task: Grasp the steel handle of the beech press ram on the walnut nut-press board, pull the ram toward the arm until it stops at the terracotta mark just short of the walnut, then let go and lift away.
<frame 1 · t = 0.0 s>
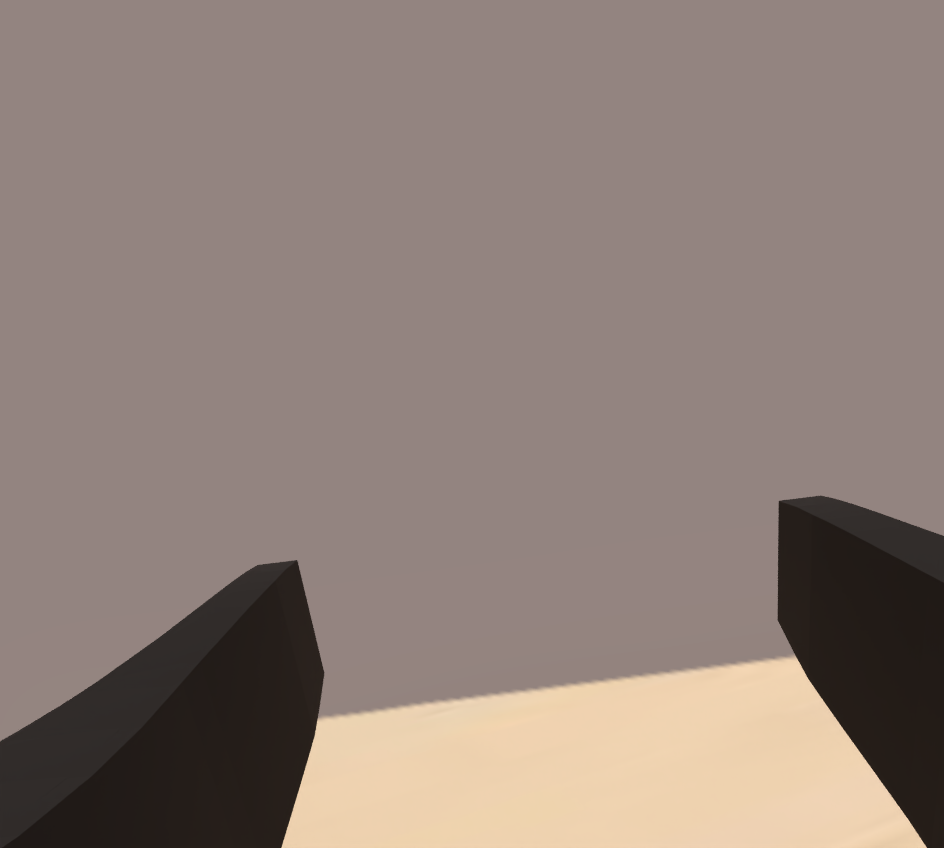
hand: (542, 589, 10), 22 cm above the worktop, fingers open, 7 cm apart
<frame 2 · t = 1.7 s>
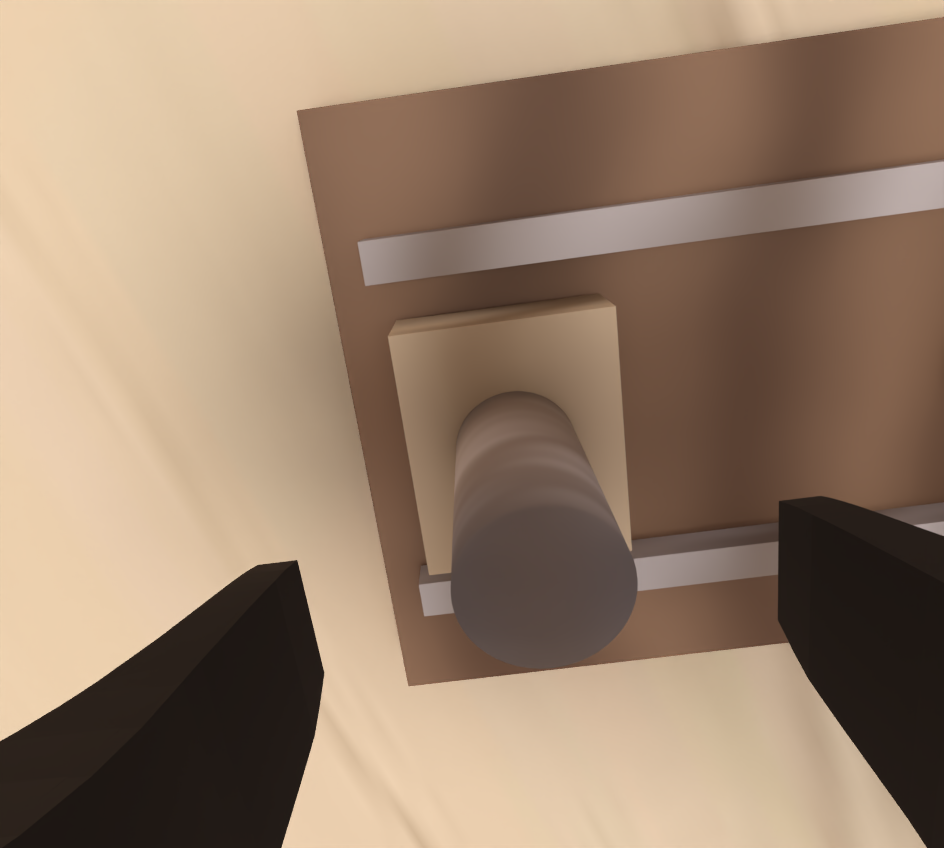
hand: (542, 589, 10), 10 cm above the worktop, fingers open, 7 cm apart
press ram: (523, 483, 14), point 6 cm above the worktop, slide at 0.0 cm
press board: (755, 370, 19), on the worktop
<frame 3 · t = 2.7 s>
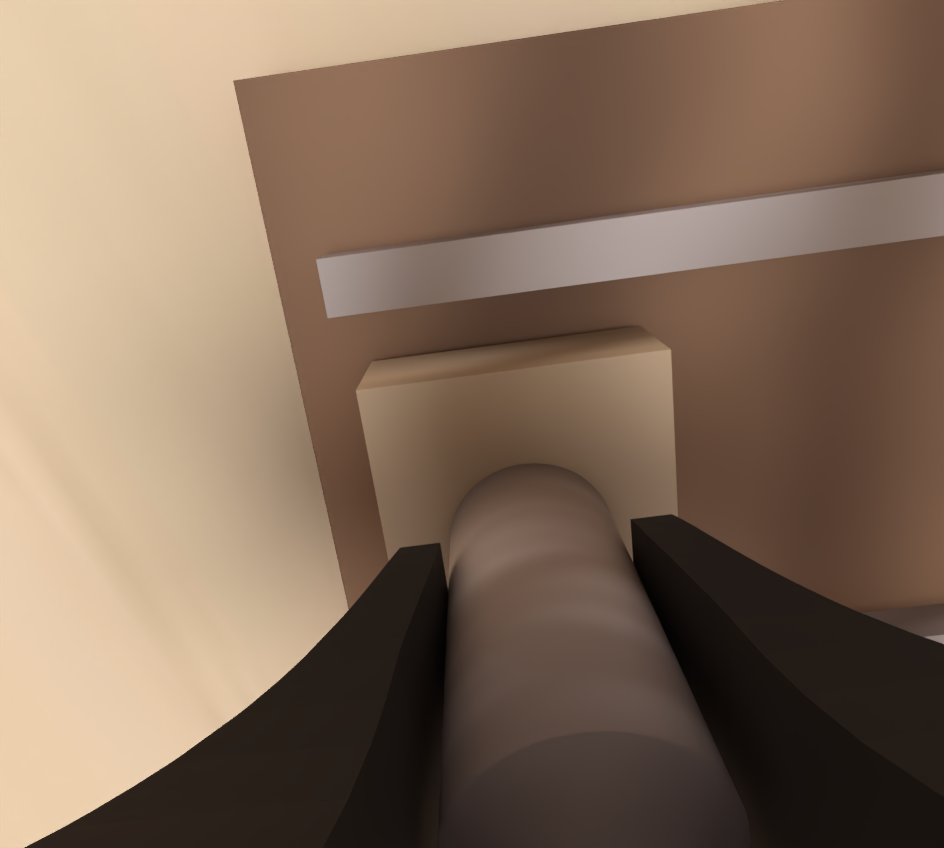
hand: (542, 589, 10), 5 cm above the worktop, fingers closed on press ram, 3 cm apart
press ram: (544, 605, 10), point 6 cm above the worktop, slide at 0.0 cm, touching gripper
press board: (832, 418, 15), on the worktop
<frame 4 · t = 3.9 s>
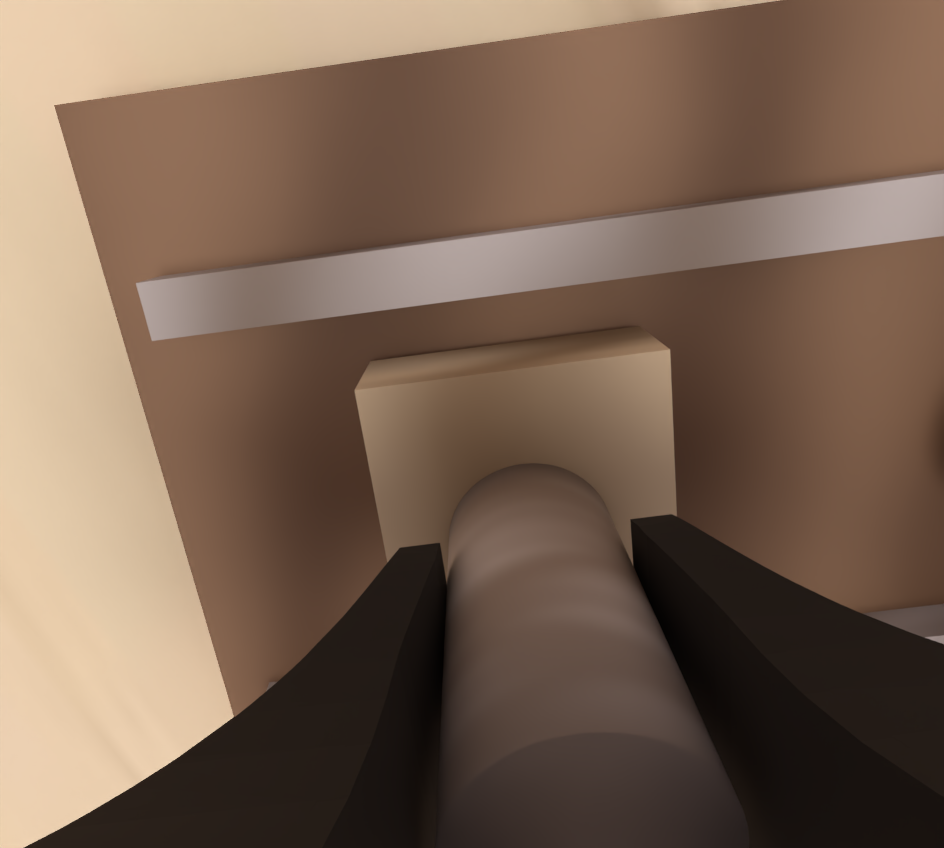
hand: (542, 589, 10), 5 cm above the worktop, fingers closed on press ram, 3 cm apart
press ram: (543, 605, 10), point 6 cm above the worktop, slide at 3.1 cm, touching gripper
press board: (692, 436, 15), on the worktop
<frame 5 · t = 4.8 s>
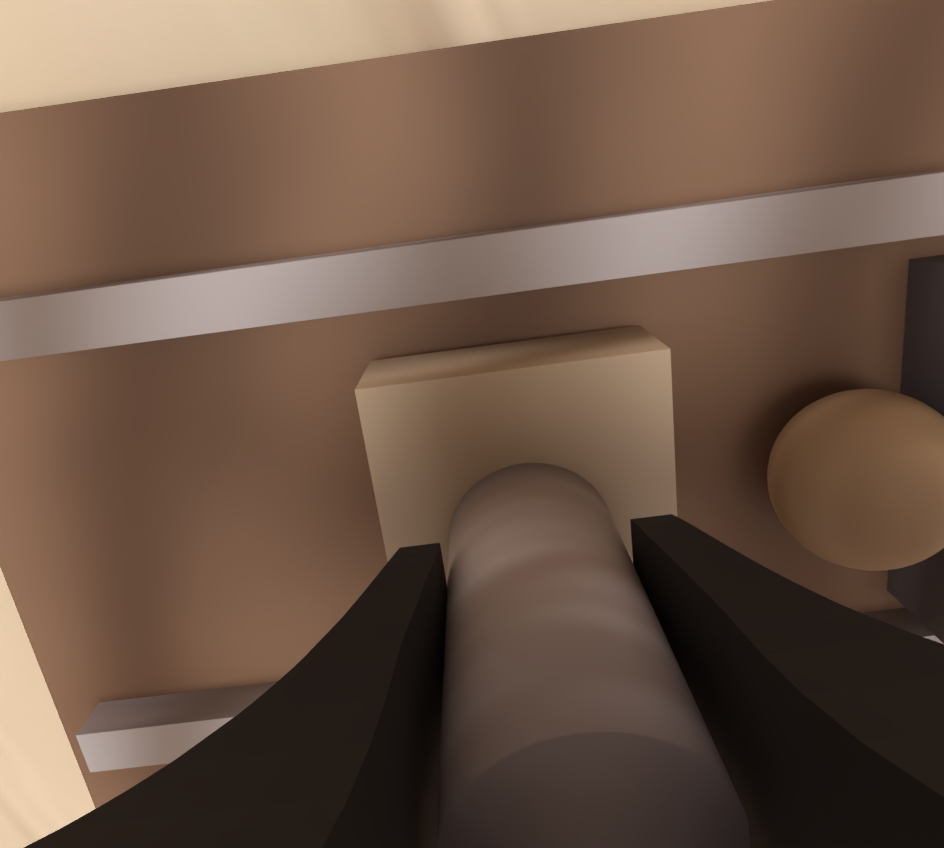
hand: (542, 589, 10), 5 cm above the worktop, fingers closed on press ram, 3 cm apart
press ram: (543, 605, 10), point 6 cm above the worktop, slide at 7.0 cm, touching gripper
press board: (516, 457, 15), on the worktop
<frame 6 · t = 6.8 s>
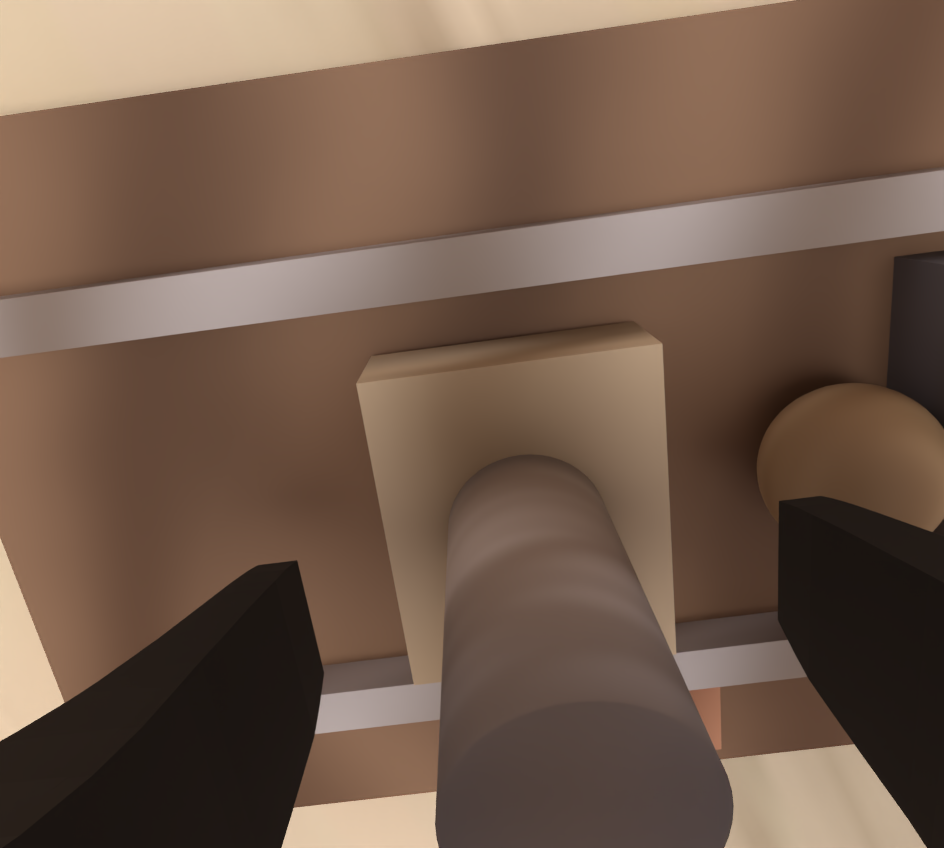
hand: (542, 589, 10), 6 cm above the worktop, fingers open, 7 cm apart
press ram: (539, 590, 10), point 6 cm above the worktop, slide at 7.0 cm
press board: (513, 451, 16), on the worktop
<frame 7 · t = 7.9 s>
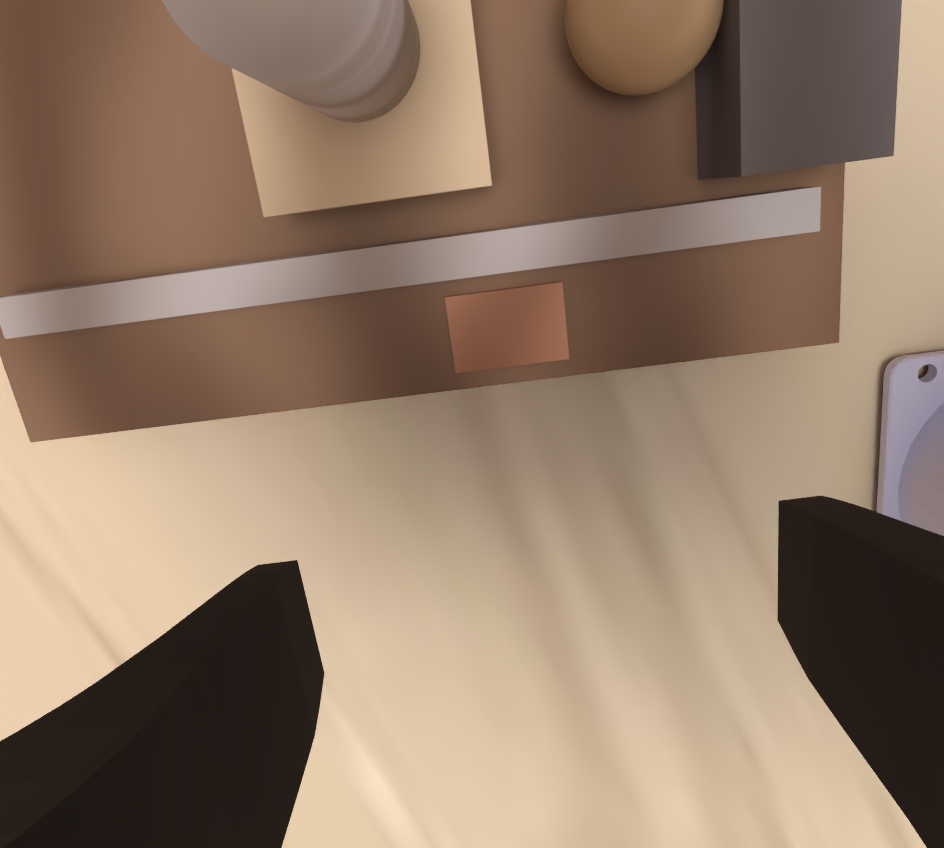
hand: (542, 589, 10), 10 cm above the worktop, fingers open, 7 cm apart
press ram: (330, 24, 12), point 6 cm above the worktop, slide at 7.0 cm
press board: (378, 76, 18), on the worktop
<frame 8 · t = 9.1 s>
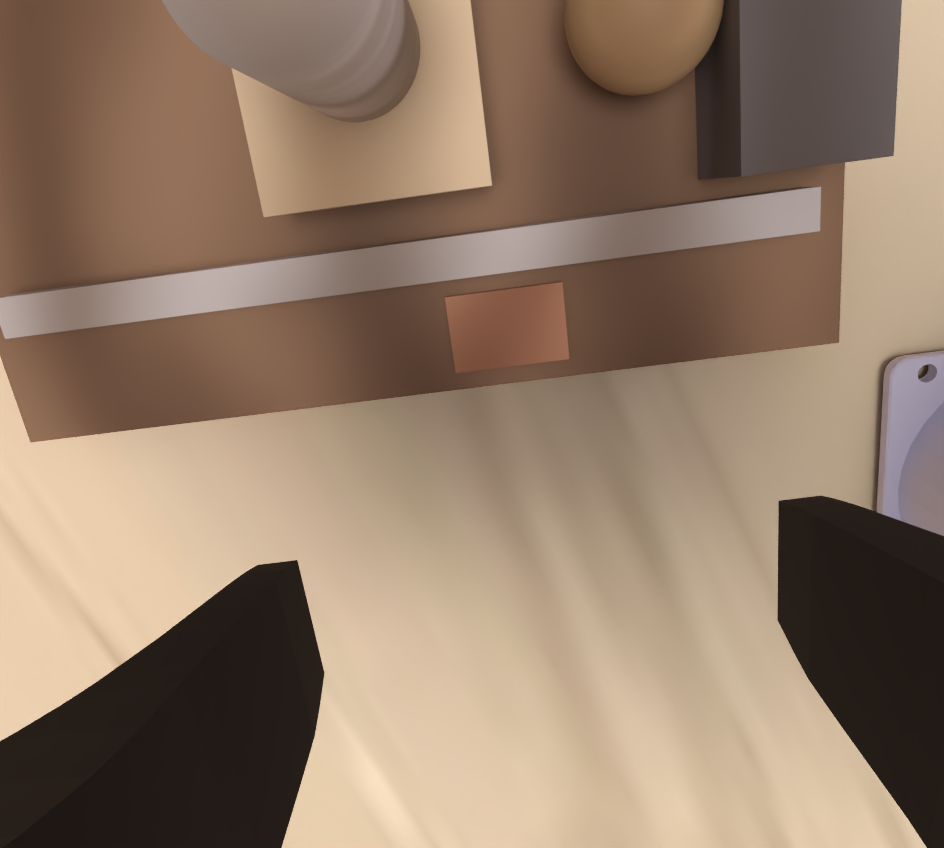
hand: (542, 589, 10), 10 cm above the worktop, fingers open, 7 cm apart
press ram: (330, 24, 12), point 6 cm above the worktop, slide at 7.0 cm
press board: (378, 76, 18), on the worktop
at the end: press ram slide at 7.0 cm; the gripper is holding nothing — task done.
